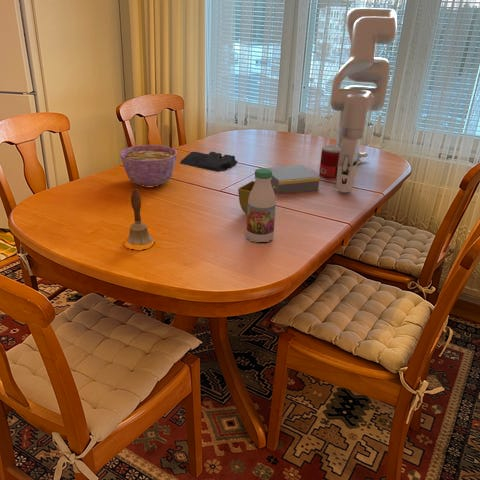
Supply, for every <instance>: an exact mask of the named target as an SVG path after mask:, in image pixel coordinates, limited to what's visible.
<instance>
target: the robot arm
mask: <svg viewBox="0 0 480 480" xmlns="http://www.w3.org/2000/svg"><path fill="white" fill-rule="evenodd" d="M346 15H347V16H346V28H347V32H348V36H349V42H350V47H349V55H348V56H349V57H348V60H347V61H346V62H345V63H344V64H343V65H341V67H340V68H339V69H338V70H337V72H336V73H335V76H334V77H333V81H332V87H331V94H330V107H331V109H332V110H333V111H336V112H340V113H339V121H338V122H339V123H338V129H337V130H338V132H337V136H336V137H337V138H336V139H337V140H336V145H335V146H337V147H340V148H341V149H340V155H339V161H338V166H341V165H342V163H343V165H344V166H343V169H342V172H341V175H347V174H348V176H349V172H350V170H349V171H348V169H347V166H348V165H349V167H350V168H351V167H352V166H353V164H354V162H355V161H356V162H357V166H359V165H360V164H361V159H362V158H367V157H368V152H362V151H359V149H360V143H361V140H362V139H363V138H364V133H365V127H366V121H367V120H366V119H367V115H368V112H375V113H378V112H380V111H381V110H382V109H383V107H384V105H385V101H386V95H387V89H388V83H389V76H390V67H391V66H390V62H389V60H388V59H387V58H384V57H375V55H376V49H377V46H376V45H377V44H379V45H380V44H381V45H390V44H392V43H393V42H394V40H395V38H396V35H397V28H398V21H397V19H398V18H397V13H396V11H395V9H392V8H383V7H382V8H378V7H355V8H351V9H349V10H348V12H347V14H346ZM346 78H347V79H348V80H349V81H350V82H354V83H361V84H363V83H365V84H373V85H375V86H370V85H369V86H368V85H367V86H366V85H353V84H351V85H348V86H345V87H342V88H341V85H342V82H343V81H344V80H345V79H346ZM343 181H345V182H343ZM346 182H347V178H346V179H345V180H343V177H342V184H346Z"/></svg>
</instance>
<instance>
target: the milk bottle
mask: <svg viewBox="0 0 480 480" xmlns="http://www.w3.org/2000/svg"><path fill="white" fill-rule="evenodd" d="M265 168H266V167H263V168H256V169H255V170H254V180H255V184H254V186H253V188H252V190H251V192H250V194H249V198H248V209H247V214H246V238H247V240H248V239H249V241H250V240H251V241H250V242H252V241H254V242H253V243H255V242H267V243H269V242H268V241H270V240H271V241H272V240H273V239H274V235H275V234H274V233H275V223H276V222H275V221H276V205H277V203H276V202H277V201H276V195H275V192H274V191H273V189H272V186H271V179H272V171H271V170H269V169H265ZM271 241H270V242H271Z"/></svg>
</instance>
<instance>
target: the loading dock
mask: <svg viewBox="0 0 480 480" xmlns="http://www.w3.org/2000/svg"><path fill="white" fill-rule="evenodd" d="M264 168H265V169H269V170H271V171H272V179H271V185H272V186H275V192H274V193H276V194H277V195H282V194H290V193H291V194H292V193H300V192H309V191H318V190H319V184H320V181H321V176H320V175H318V174H317V173H315V172H313V171H312V170H310V169H309V168H307V167H306V166H304V165H303V164H298V165H297V164H296V165H286V166H274V167H273V166H272V167H264Z"/></svg>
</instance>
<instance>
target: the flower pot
mask: <svg viewBox="0 0 480 480" xmlns="http://www.w3.org/2000/svg"><path fill="white" fill-rule="evenodd" d="M254 184H255V181H254V180H251V181H249V182H248V183H246V184H243V185H241V186H240V187H238V188H237V194H238V201H239V205H240V208H241V210H242V211H243V213H244V214H245V215H247V209H248V198H249V194H250V192H251V190H252V188H253V186H254ZM271 186H272V185H271ZM272 189H273V191H274V193H276V192H275V186H272Z"/></svg>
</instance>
